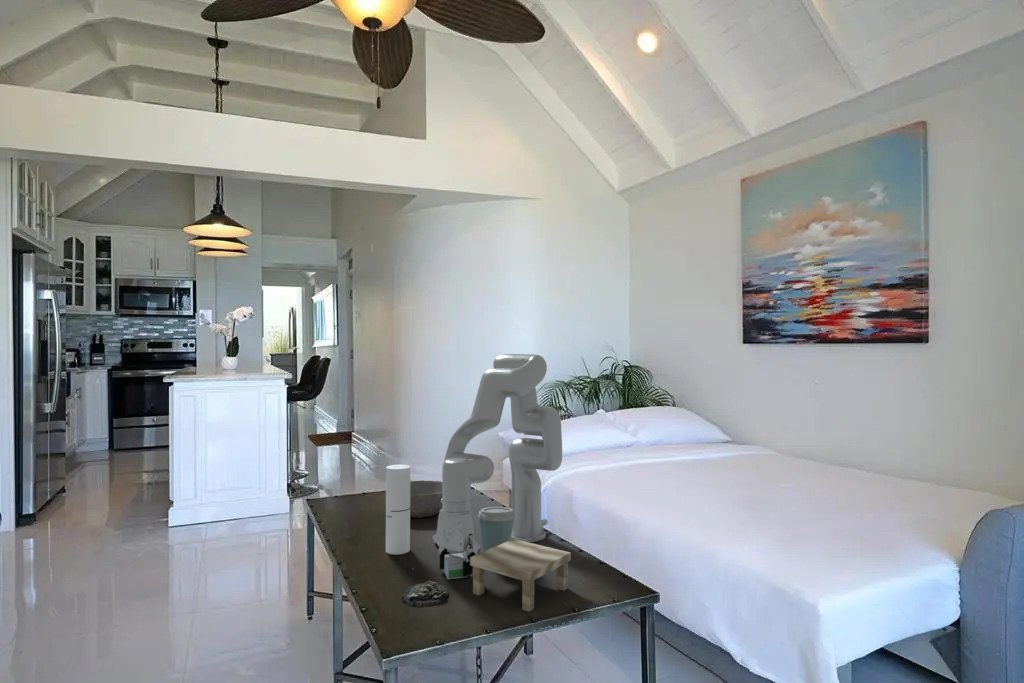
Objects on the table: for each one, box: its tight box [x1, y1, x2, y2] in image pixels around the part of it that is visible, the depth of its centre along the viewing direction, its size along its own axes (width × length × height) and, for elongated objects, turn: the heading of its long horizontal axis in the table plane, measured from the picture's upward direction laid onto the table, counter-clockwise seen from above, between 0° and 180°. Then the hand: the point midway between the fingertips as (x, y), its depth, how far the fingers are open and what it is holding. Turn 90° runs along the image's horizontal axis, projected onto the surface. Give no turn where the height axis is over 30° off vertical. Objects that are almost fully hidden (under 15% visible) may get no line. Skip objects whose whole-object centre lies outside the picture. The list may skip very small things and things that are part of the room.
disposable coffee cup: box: [478, 506, 516, 552], centre depth 172 cm, size 11×11×15 cm
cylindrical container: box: [385, 464, 411, 556], centre depth 181 cm, size 7×7×25 cm
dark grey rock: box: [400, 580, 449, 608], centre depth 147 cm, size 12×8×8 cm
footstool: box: [470, 539, 572, 612], centre depth 151 cm, size 18×18×9 cm
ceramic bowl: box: [410, 480, 442, 519], centre depth 220 cm, size 22×23×10 cm
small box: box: [443, 552, 469, 580], centre depth 161 cm, size 6×6×5 cm
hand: (455, 571), depth 161 cm, fingers closed on small box, 7 cm apart
